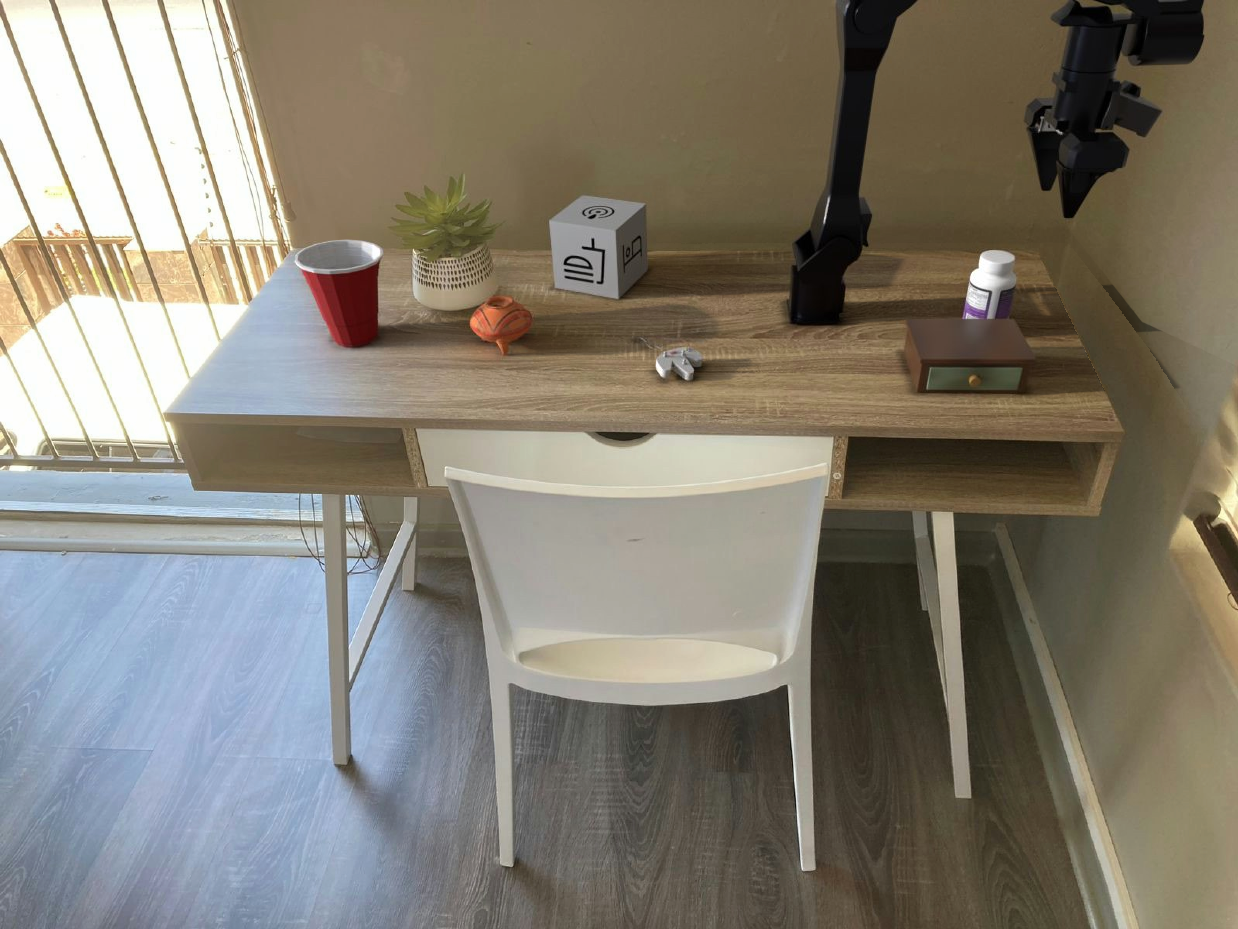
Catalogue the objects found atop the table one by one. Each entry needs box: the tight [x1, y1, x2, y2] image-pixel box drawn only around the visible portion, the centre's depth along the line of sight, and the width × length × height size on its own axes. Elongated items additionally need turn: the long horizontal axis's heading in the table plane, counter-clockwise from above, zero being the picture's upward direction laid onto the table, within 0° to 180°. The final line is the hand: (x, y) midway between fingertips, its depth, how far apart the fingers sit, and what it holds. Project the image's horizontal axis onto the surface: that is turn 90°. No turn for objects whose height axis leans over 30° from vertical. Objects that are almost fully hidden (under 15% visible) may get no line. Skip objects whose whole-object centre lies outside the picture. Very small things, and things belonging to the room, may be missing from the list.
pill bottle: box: [962, 249, 1018, 319], centre depth 117 cm, size 5×5×10 cm
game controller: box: [637, 337, 704, 381], centre depth 115 cm, size 6×12×3 cm, turn 49°
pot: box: [469, 295, 534, 356], centre depth 120 cm, size 8×8×7 cm
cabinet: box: [903, 318, 1037, 394], centre depth 110 cm, size 13×10×5 cm
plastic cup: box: [294, 239, 384, 348], centre depth 121 cm, size 11×11×12 cm
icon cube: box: [548, 194, 649, 300], centre depth 133 cm, size 10×10×10 cm
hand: (1056, 203), depth 114 cm, fingers open, 9 cm apart
